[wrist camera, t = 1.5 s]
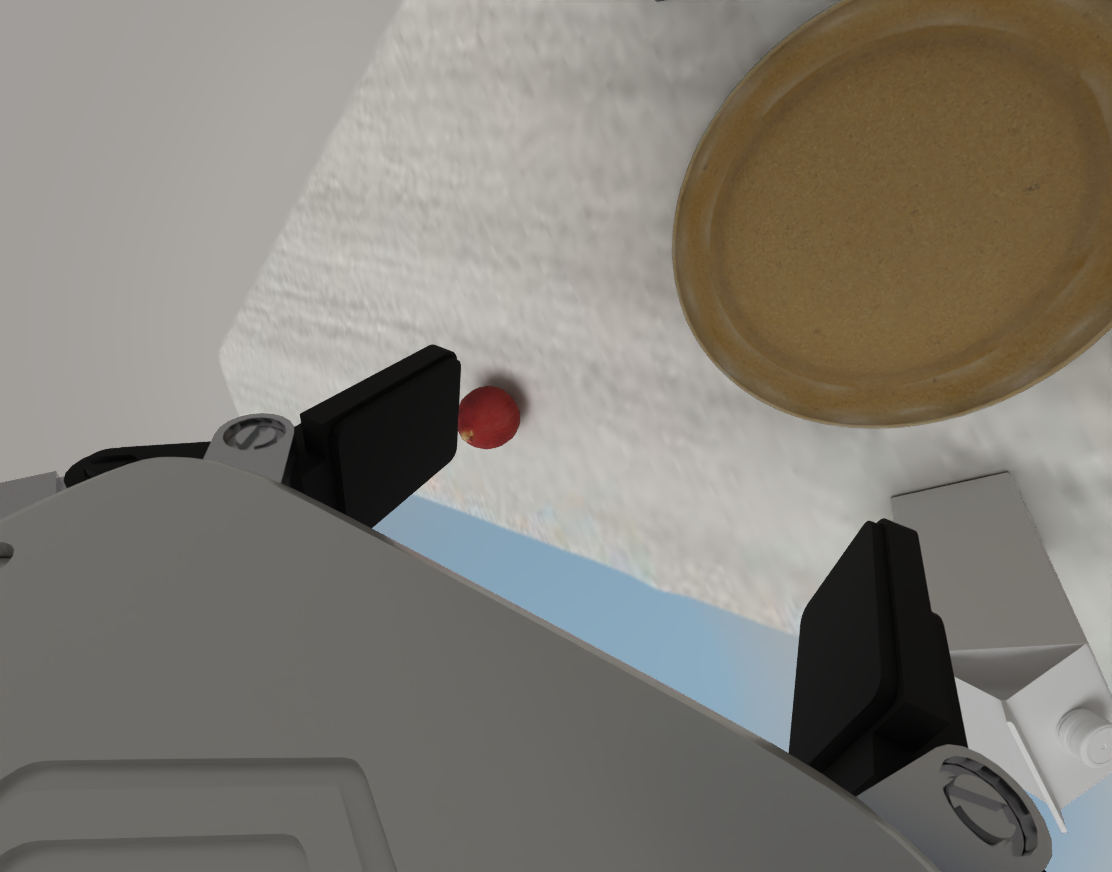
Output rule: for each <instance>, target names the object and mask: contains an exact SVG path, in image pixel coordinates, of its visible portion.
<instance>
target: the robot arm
mask: <svg viewBox="0 0 1112 872" xmlns="http://www.w3.org/2000/svg"><path fill="white" fill-rule="evenodd" d="M460 376H461V364H460V361H459V360H457V357H456V354H455V353H454V352H452V351H450V350H447V349H444V348H442V347H439V346H437V345H433V344H432V345H429V346H427V347H425V348H423V349H421V350H420V351H418V352H416V353H414V354H412V355H410V356H408V357H406V358H404V359H403V360H401V361H399V362H397V363H395V364H393V365H391V366H389V367H387V368H386V369H384V370H382V371H380V372H378V373H376V374H374V375H372V376H370V377H369V378H367V379H365V380H363V381H361V382H359V383H357V384H355V385H353V386H352V387H350V388H348V389H346V390H344V391H342V392H340V393H338V394H336V395H335V396H333V397H331V398H329V399H327V400H325V401H323V402H321V403H319V404H318V405H316V406H314V407H312V408H310V409H308V410H306V411H304V412H302V413H301V414H300V419H301V424H299V425H297V426H295V427H294V426H293V424H292V423H291V421H289V420H288V419H286V418H284V417H282V416H278V415H275V414H264V413H261V414H250V415H246V416H241V417H238V418H235V419H233V420H231V421H228V422H227V423H225V424H224V425H222V426H221V427H220V428H219V429H218V430H217V432H216V433H215V434H214V437H213V439H212V441H211V442H197V443H180V444H165V445H149V446H134V447H121V448H110V449H105V450H101V451H99V452H96V453H94V454H92V455H90V456H88V457H85V458H83V459H82V460H80V461H79V462H77V463H76V464H74V465H72V467H71V468H70V469H69V470H68V471H67V472H66V474H65V477H60V478H59V476H58V474H57V472H56V471H54V472H50V473H45V474H40V475H36V476H31V477H26V478H21V479H17V480H12V481H8V482H3V483H0V872H1046V871H1045V870H1044V869H1045V868H1046V867H1047V865H1048V863H1049V861H1050V859H1051V857H1052V842H1051V841H1052V840H1051V837H1050V834H1049V831H1048V828H1047V826H1046V823H1045V820H1044V818H1043V817H1042V815H1041V814H1040V812H1039V810H1038V809H1037V807H1036V805H1035V804H1034V802H1033V801H1032V799H1031V798H1030V797H1029V796H1028V795H1027V793H1026V792H1025V791H1024V790H1023V788H1022V787H1021V786H1020V785H1019V784H1018V783H1017V781H1016V780H1014V779H1013V778H1012V777H1011V776H1010V775H1009V774H1008V773H1007V772H1005V771H1004V770H1003V769H1002V768H1001V767H1000V766H999V765H997V764H996V763H994V762H993V761H991V760H989V759H988V758H986V757H985V756H983V755H982V754H980V753H978V752H975V751H973V750H971V749H968V744H967V738H966V733H965V728H964V723H963V718H962V713H961V708H960V703H959V698H958V693H957V688H956V682H955V677H954V672H953V667H952V662H951V657H950V652H949V647H948V642H947V637H946V632H945V626H944V623H943V621H942V618H941V617H940V616H939V615H938V614H936V613H934V612H932V610H931V604H930V599H929V593H928V587H927V582H926V576H925V570H924V565H923V559H922V553H921V548H920V542H919V536H918V533H917V531H915V530H913V529H910V528H908V527H905V526H903V525H900V524H898V523H895V522H892V521H890V520H887V519H885V518H884V519H881V520H879V521H878V522H877V523H874V522H872V521H867V522H866V523H865V524H864V525H863V526H862V528H861V529H860V531H859V532H858V533H857V535H856V536H855V538H854V539H853V541H852V542H851V543H850V545H849V546H848V548H847V549H846V550H845V552H844V553H843V555H842V556H841V558H840V559H839V560H838V562H837V563H836V565H835V566H834V567H833V569H832V570H831V572H830V573H829V575H828V576H827V577H826V579H825V580H824V582H823V583H822V584H821V586H820V587H819V589H818V590H817V592H816V593H815V594H814V596H813V597H812V599H811V600H810V601H809V603H808V604H807V606H806V608H805V610H804V612H803V615H802V618H801V624H800V635H799V647H798V657H797V668H796V679H795V690H794V701H793V712H792V723H791V734H790V745H789V753H787V752H785V751H784V750H782V749H780V748H779V747H777V746H775V745H774V744H772V743H770V742H768V741H767V740H765V739H763V738H761V737H759V736H758V735H756V734H754V733H752V732H750V731H749V730H747V729H745V728H743V727H741V726H740V725H738V724H736V723H734V722H732V721H730V720H729V719H727V718H725V717H723V716H722V715H720V714H718V713H716V712H714V711H713V710H711V709H709V708H707V707H705V706H704V705H702V704H700V703H698V702H696V701H695V700H693V699H691V698H689V697H687V696H686V695H684V694H681V693H680V692H678V691H676V690H674V689H673V688H671V687H669V686H667V685H665V684H663V683H661V682H660V681H658V680H656V679H654V678H652V677H650V676H648V675H647V674H645V673H643V672H641V671H639V670H637V669H635V668H634V667H632V666H630V665H628V664H626V663H624V662H622V661H621V660H619V659H617V658H615V657H613V656H611V655H609V654H607V653H605V652H604V651H602V650H600V649H598V648H596V647H594V646H593V645H591V644H589V643H587V642H585V641H583V640H581V639H580V638H578V637H576V636H574V635H572V634H570V633H568V632H566V631H565V630H563V629H561V628H559V627H557V626H555V625H553V624H552V623H549V622H548V621H546V620H544V619H542V618H540V617H538V616H536V615H535V614H532V613H531V612H529V611H527V610H525V609H523V608H521V607H520V606H518V605H516V604H514V603H512V602H510V601H508V600H506V599H505V598H503V597H501V596H499V595H497V594H495V593H493V592H491V591H489V590H488V589H486V588H484V587H482V586H480V585H478V584H476V583H474V582H472V581H470V580H469V579H467V578H465V577H463V576H461V575H459V574H457V573H455V572H453V571H452V570H450V569H448V568H446V567H444V566H442V565H440V564H438V563H436V562H434V561H433V560H431V559H429V558H427V557H425V556H423V555H421V554H419V553H417V552H415V551H414V550H411V549H410V548H408V547H406V546H404V545H402V544H400V543H398V542H396V541H394V540H392V539H391V538H389V537H387V536H385V535H383V534H381V533H379V532H377V531H375V530H373V529H372V528H373V527H374V526H375V525H376V524H377V523H378V522H380V521H381V520H382V519H383V518H384V517H386V516H387V515H388V514H389V513H390V512H391V511H393V510H394V509H395V508H396V507H397V506H399V505H400V504H401V503H402V502H403V501H404V500H406V499H407V498H408V497H409V496H410V495H411V494H413V493H414V492H415V491H416V490H417V489H419V488H420V487H421V486H422V485H423V484H424V483H426V482H427V481H428V480H429V479H430V478H431V477H433V476H434V475H435V474H436V473H437V472H439V471H440V470H441V469H442V468H443V467H444V466H446V465H447V464H448V463H449V462H450V461H451V460H452V459H453V457H454V455H455V453H456V450H457V436H458V416H459V396H460Z"/></svg>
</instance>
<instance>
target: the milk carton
mask: <svg viewBox="0 0 1112 872" xmlns="http://www.w3.org/2000/svg"><path fill="white" fill-rule="evenodd" d="M891 503H892V512H893V521H894V522H895V523H898V524H900V525H903V526H905V527H908V528H910V529H913V530H915V531H917V533H918V536H919V542H920V548H921V553H922V559H923V565H924V570H925V576H926V582H927V587H928V593H929V599H930V604H931V610H932V612H934V613H936V614H938V615H939V616H940V617H941V618H942V621H943V623H944V626H945V632H946V637H947V642H948V647H949V652H950V657H951V662H952V667H953V672H954V677H955V682H956V688H957V693H958V698H959V703H960V708H961V713H962V718H963V723H964V728H965V733H966V738H967V744H968V749H971V750H973V751H975V752H978V753H980V754H982V755H983V756H985V757H986V758H988V759H989V760H991V761H993V762H994V763H996V764H997V765H999V766H1000V767H1001V768H1002V769H1003V770H1004V771H1005V772H1007V773H1008V774H1009V775H1010V776H1011V777H1012V778H1013V779H1014V780H1016V781H1017V783H1018V784H1019V785H1020V786H1021V787H1022V788H1023V789H1025V790H1026V791H1028V792H1030V793H1031V794H1033V795H1034V796H1036V797H1037V798H1039V799H1041V800H1042V801H1044V802H1045V803H1047V804H1048V806H1049V808H1050V810H1051V812H1052V814H1053V816H1054V818H1055V820H1056V822H1057V824H1058V826H1059V828H1060V830H1061V832H1062V833H1068V832H1067V830H1066V826H1065V823H1064V820H1063V817H1062V813H1061V811H1060V810H1061V809H1062V808H1063V807H1065V806H1066V805H1068V804H1069V803H1070V802H1072V801H1073V800H1074V799H1076V798H1077V797H1078V796H1080V795H1081V794H1083V793H1084V792H1086V791H1087V790H1088V789H1090V788H1091V787H1092V786H1094V785H1095V784H1096V783H1098V782H1099V781H1101V780H1102V779H1103V778H1105V777H1106V776H1108V775H1109V774H1110V773H1112V695H1111V693H1110V690H1109V688H1108V686H1107V684H1106V681H1105V679H1104V677H1103V675H1102V672H1101V670H1100V668H1099V666H1098V663H1097V661H1096V659H1095V657H1094V654H1093V652H1092V650H1091V648H1090V646H1089V643H1088V641H1087V639H1086V637H1085V635H1084V632H1083V630H1082V628H1081V626H1080V624H1079V622H1078V619H1077V617H1076V615H1075V613H1074V611H1073V609H1072V606H1071V604H1070V602H1069V600H1068V598H1067V596H1066V593H1065V591H1064V589H1063V587H1062V585H1061V582H1060V580H1059V578H1058V576H1057V574H1056V572H1055V569H1054V567H1053V565H1052V563H1051V561H1050V559H1049V556H1048V554H1047V552H1046V550H1045V548H1044V546H1043V543H1042V541H1041V539H1040V537H1039V535H1038V533H1037V530H1036V528H1035V526H1034V524H1033V522H1032V520H1031V517H1030V515H1029V513H1028V511H1027V509H1026V506H1025V504H1024V502H1023V500H1022V498H1021V496H1020V493H1019V491H1018V489H1017V487H1016V485H1015V483H1014V480H1013V478H1012V476H1011V475H1010V473H1008V472H1007V473H1002V474H997V475H993V476H988V477H984V478H979V479H975V480H970V481H965V482H961V483H956V484H952V485H947V486H943V487H938V488H934V489H929V490H925V491H920V492H916V493H911V494H907V495H902V496H898V497H893V498H891Z"/></svg>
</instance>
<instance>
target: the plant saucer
mask: <svg viewBox="0 0 1112 872" xmlns="http://www.w3.org/2000/svg"><path fill="white" fill-rule="evenodd" d="M672 260H673V270H674V278H675V284H676V288H677V293H678V297H679V301H680V304H681V307H682V310H683V313H684V316H685V318H686V320H687V323H688V325H689V327H690V329H691V331H692V333H693V335H694V336H695V338H696V340H697V342H698V343H699V345H700V346H701V348H702V349H703V350H704V352H705V353H706V354H707V356H708V357H709V358H710V360H711V361H712V362H713V363H714V364H715V365H716V366H717V368H718V369H719V370H720V371H721V372H722V373H723V374H724V375H726V376H727V377H728V378H729V379H730V380H731V381H732V382H734V383H735V384H736V385H737V386H739V387H740V388H741V389H743V390H744V391H745V392H747V393H748V394H750V395H751V396H753V397H754V398H756V399H758V400H760V401H761V402H763V403H765V404H767V405H769V406H771V407H773V408H775V409H778V410H780V411H782V412H785V413H788V414H790V415H793V416H796V417H799V418H802V419H806V420H810V421H813V422H817V423H822V424H827V425H833V426H840V427H849V428H869V429H882V428H900V427H910V426H917V425H923V424H929V423H935V422H939V421H944V420H948V419H952V418H956V417H960V416H963V415H966V414H970V413H972V412H975V411H978V410H981V409H984V408H987V407H990V406H992V405H994V404H997V403H999V402H1001V401H1004V400H1006V399H1008V398H1010V397H1012V396H1014V395H1016V394H1018V393H1021V392H1023V391H1025V390H1027V389H1028V388H1030V387H1032V386H1034V385H1035V384H1037V383H1039V382H1041V381H1043V380H1044V379H1046V378H1047V377H1049V376H1051V375H1052V374H1054V373H1056V372H1057V371H1059V370H1060V369H1062V368H1063V367H1065V366H1066V365H1068V364H1069V363H1070V362H1072V361H1073V360H1075V359H1076V358H1077V357H1079V356H1080V355H1081V354H1082V353H1084V352H1085V351H1086V350H1087V349H1089V348H1090V347H1091V346H1092V345H1094V344H1095V343H1096V342H1097V341H1098V340H1099V339H1100V338H1101V337H1102V336H1104V335H1105V334H1106V333H1107V332H1108V331H1109V330H1110V329H1111V328H1112V0H840V1H839V2H837V3H835V4H833V5H832V6H830V7H828V8H827V9H825V10H823V11H822V12H820V13H819V14H817V15H816V16H814V17H813V18H811V19H810V20H808V21H807V22H805V23H804V24H802V25H801V26H800V27H798V28H797V29H796V30H794V31H793V32H792V33H790V34H789V35H788V36H787V37H785V38H784V39H783V40H782V41H781V42H780V43H778V44H777V45H776V46H775V47H774V48H773V49H772V50H771V51H769V52H768V53H767V54H766V55H765V56H764V57H763V58H762V59H761V60H760V61H759V62H758V63H757V64H756V65H755V66H754V67H753V68H752V69H751V70H750V71H749V72H748V73H747V74H746V76H745V77H744V78H743V79H742V80H741V81H740V82H739V83H738V85H737V86H736V87H735V88H734V90H733V91H732V92H731V93H730V95H729V96H728V97H727V98H726V100H725V101H724V103H723V104H722V106H721V107H720V108H719V110H718V111H717V113H716V114H715V116H714V117H713V119H712V120H711V122H710V124H709V125H708V127H707V129H706V131H705V132H704V134H703V136H702V138H701V140H700V142H699V144H698V146H697V148H696V150H695V152H694V154H693V156H692V159H691V161H690V164H689V166H688V169H687V172H686V175H685V178H684V181H683V184H682V187H681V190H680V194H679V198H678V203H677V207H676V212H675V219H674V227H673V241H672Z"/></svg>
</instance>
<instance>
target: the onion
mask: <svg viewBox="0 0 1112 872" xmlns="http://www.w3.org/2000/svg"><path fill="white" fill-rule="evenodd" d="M519 424H520V411H519V409H518V407H517V404H516V402H515V401H514V400H513V398H512V397H511V396H510V395H509V394H508V393H507V392H505V391H504V390H503V389H500V388H497V387H493V386H485V387H479V388H477V389H475V390H473V391H471V392H470V393H469V394H467V395H466V396H465V397H464V398H463V399H462V401H461V403H460V405H459V416H458V432H459V434H460V435H461V437H462V440H464V441H466V442H467V443H468V444H470V445H472V446H474V447H477V448H482V449H491V448H496V447H499V446H502V445H503V444H505V443H506V442H508V441H509V440H510V439H512V438H513V437H514V435H515V434H516V432H517V429H518V427H519Z"/></svg>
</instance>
